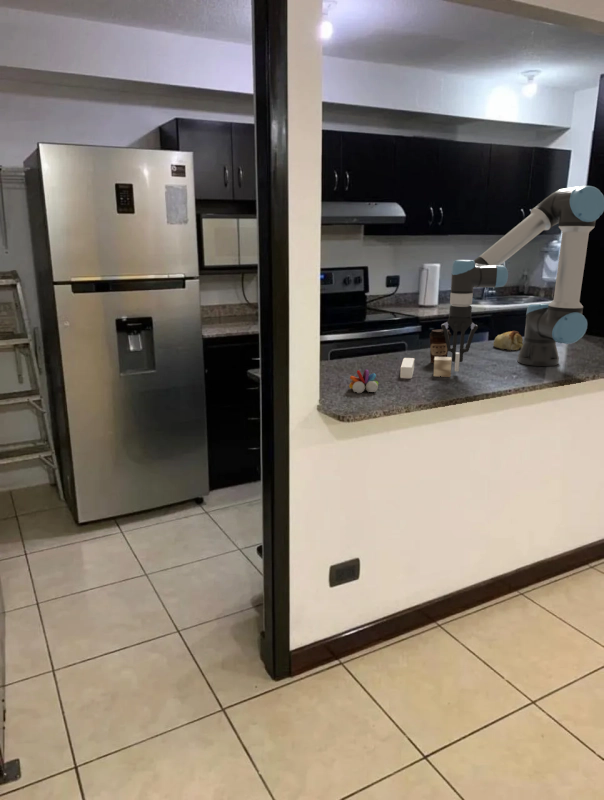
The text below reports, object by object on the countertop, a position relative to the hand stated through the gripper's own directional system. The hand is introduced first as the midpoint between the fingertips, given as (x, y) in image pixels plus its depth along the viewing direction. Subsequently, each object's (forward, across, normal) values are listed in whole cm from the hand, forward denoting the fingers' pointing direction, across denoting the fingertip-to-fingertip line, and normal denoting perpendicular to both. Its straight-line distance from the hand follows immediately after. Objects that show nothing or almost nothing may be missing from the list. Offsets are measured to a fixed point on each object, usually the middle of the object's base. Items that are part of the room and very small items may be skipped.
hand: (456, 370), depth 214 cm
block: (+2, +5, 0) cm, 5 cm away
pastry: (+2, -23, -58) cm, 62 cm away
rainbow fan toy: (+2, +30, +27) cm, 41 cm away
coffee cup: (+2, +6, -20) cm, 21 cm away
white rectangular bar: (+2, +18, 0) cm, 18 cm away
